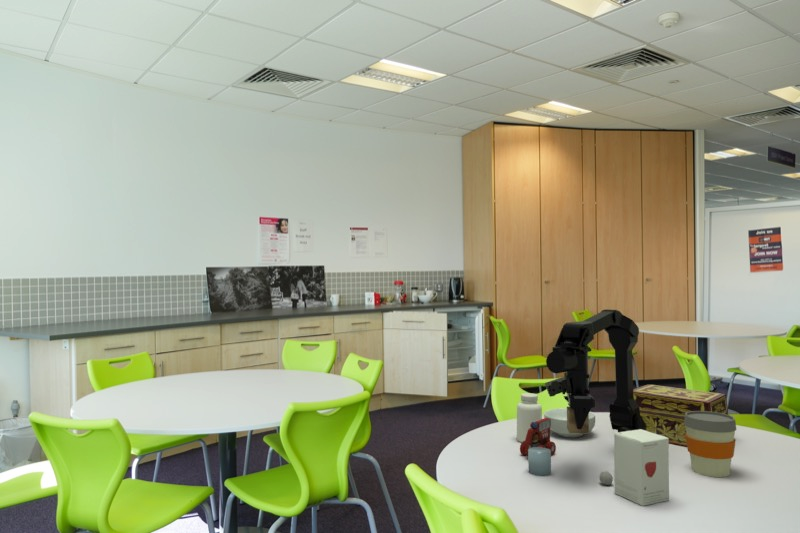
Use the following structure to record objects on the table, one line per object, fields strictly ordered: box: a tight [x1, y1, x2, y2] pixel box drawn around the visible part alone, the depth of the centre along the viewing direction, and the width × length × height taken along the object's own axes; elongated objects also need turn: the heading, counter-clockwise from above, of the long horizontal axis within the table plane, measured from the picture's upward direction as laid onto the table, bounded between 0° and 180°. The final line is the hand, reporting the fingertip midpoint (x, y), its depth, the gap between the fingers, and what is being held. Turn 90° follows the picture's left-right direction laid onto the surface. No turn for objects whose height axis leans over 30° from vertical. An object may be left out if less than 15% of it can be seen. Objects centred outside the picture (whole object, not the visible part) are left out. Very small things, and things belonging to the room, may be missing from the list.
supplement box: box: [613, 429, 670, 507], centre depth 136 cm, size 9×9×15 cm
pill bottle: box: [516, 392, 543, 443], centre depth 183 cm, size 8×8×15 cm
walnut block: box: [566, 406, 590, 435], centre depth 154 cm, size 5×5×6 cm
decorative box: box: [633, 384, 729, 448], centre depth 186 cm, size 28×19×15 cm
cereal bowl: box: [543, 407, 596, 438], centre depth 190 cm, size 17×17×7 cm
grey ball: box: [599, 470, 614, 486], centre depth 144 cm, size 3×3×3 cm
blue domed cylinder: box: [527, 447, 552, 477], centre depth 154 cm, size 6×6×6 cm
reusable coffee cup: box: [684, 411, 737, 478], centre depth 153 cm, size 12×13×15 cm
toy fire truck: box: [519, 417, 557, 457], centre depth 169 cm, size 7×12×10 cm, turn 133°
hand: (577, 426), depth 153 cm, fingers closed on walnut block, 5 cm apart
